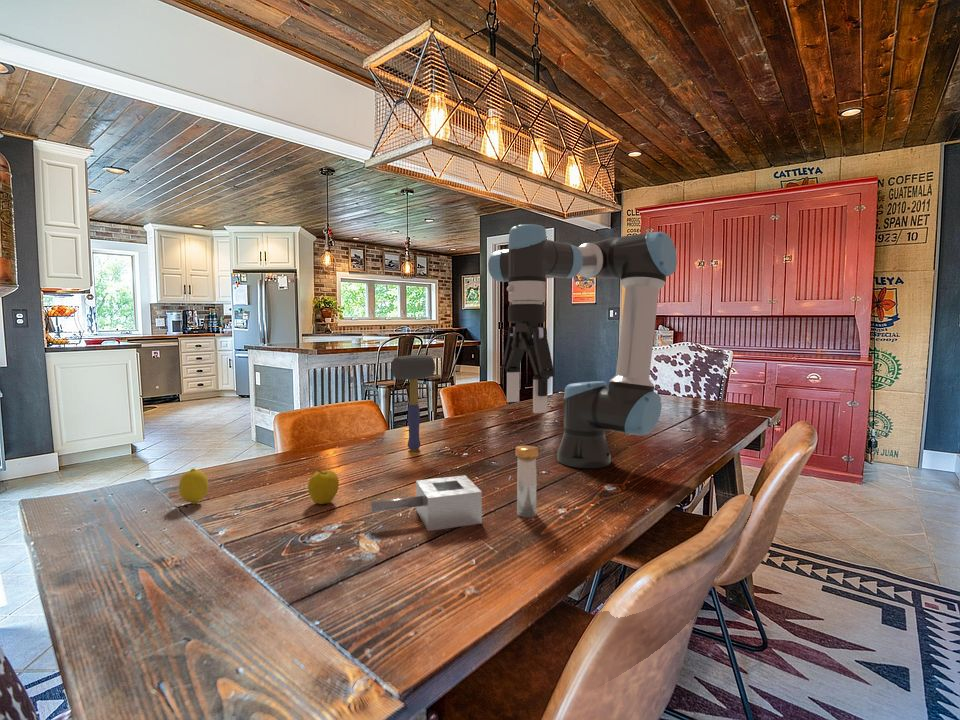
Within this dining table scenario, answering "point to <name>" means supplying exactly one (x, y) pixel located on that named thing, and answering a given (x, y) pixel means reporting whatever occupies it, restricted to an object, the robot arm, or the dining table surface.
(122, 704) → the dining table surface
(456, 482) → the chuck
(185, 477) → the lemon
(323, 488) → the apple
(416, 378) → the rubber mallet
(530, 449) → the grey gold cylinder
